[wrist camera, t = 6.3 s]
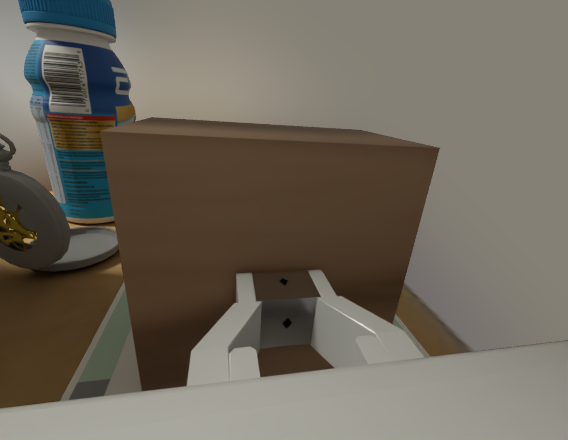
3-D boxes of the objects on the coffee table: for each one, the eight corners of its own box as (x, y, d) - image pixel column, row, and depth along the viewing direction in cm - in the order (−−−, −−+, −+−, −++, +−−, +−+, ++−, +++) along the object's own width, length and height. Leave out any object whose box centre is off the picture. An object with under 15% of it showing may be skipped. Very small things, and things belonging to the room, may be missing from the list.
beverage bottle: (38, 214, 30) (-25, -25, 23) (113, 195, 37) (84, 9, 30) (91, 233, 27) (38, -37, 19) (162, 208, 34) (143, 4, 27)
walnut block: (379, 371, 13) (439, 147, 9) (143, 401, 11) (99, 131, 7) (333, 291, 19) (360, 130, 15) (169, 302, 17) (151, 117, 13)
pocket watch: (124, 232, 28) (108, 122, 24) (119, 280, 21) (94, 135, 17) (14, 244, 24) (-25, 118, 20) (-38, 305, 17) (-112, 131, 13)
